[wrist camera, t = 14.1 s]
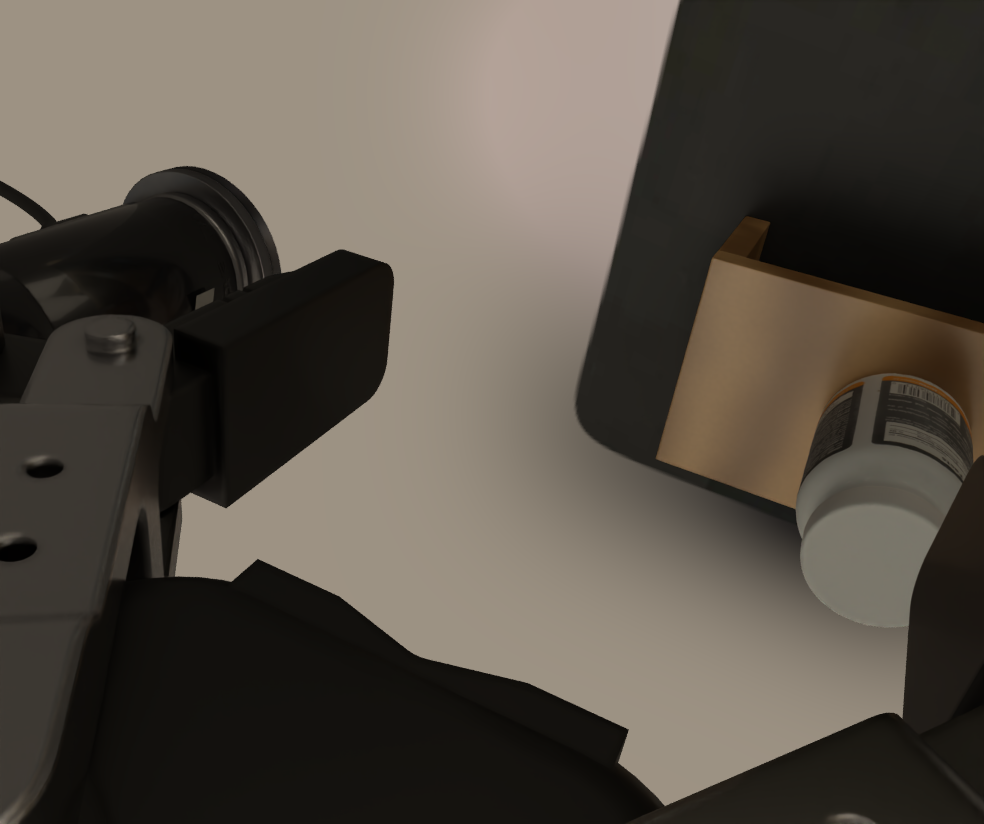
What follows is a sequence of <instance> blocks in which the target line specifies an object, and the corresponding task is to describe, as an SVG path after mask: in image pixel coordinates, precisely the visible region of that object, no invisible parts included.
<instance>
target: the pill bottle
mask: <svg viewBox="0 0 984 824" xmlns="http://www.w3.org/2000/svg"><path fill="white" fill-rule="evenodd" d="M973 463H974V462H973V445H972V435H971V430H970V426H969V423H968V420H967V418H966V416H965V414H964V412H963V410H962V409H961V407H960V406H959V404H958V403H957V402H956V401H955V400H954V398H953V397H951V396H950V395H949V394H948V393H947V392H945V391H944V390H942V389H941V388H940V387H938V386H937V385H935V384H933V383H931V382H929V381H926V380H924V379H921V378H918V377H915V376H910V375H902V374H896V373H887V374H878V375H872V376H868V377H865V378H862V379H859V380H857V381H855V382H853V383H851V384H848V385H847V386H846V387H844V388H843V389H841V390H840V391H839V392H837V393H836V394H835V395H834V396H833V397H832V399H831V400H830V401H829V402H828V404H827V405H826V407H825V408H824V410H823V412H822V414H821V416H820V419H819V422H818V424H817V428H816V430H815V434H814V437H813V441H812V444H811V448H810V452H809V455H808V459H807V462H806V466H805V469H804V473H803V477H802V480H801V484H800V488H799V491H798V494H797V500H796V519H797V525H798V529H799V532H800V535H801V537H802V544H801V551H800V560H801V568H802V572H803V575H804V578H805V580H806V582H807V584H808V586H809V587H810V589H811V590H812V592H813V593H814V594H815V595H816V596H817V598H818V599H819V600H820V601H821V602H822V603H823V604H825V605H826V606H827V607H828V608H830V609H831V610H832V611H834V612H835V613H837V614H839V615H841V616H843V617H845V618H847V619H849V620H852V621H854V622H857V623H861V624H864V625H868V626H874V627H903V626H909V615H910V603H911V597H912V593H913V589H914V585H915V582H916V579H917V576H918V573H919V571H920V568H921V565H922V563H923V561H924V559H925V557H926V554H927V552H928V550H929V548H930V546H931V545H932V543H933V541H934V539H935V537H936V535H937V533H938V531H939V529H940V527H941V525H942V523H943V521H944V519H945V517H946V515H947V513H948V511H949V509H950V507H951V505H952V503H953V501H954V499H955V497H956V495H957V493H958V491H959V489H960V487H961V485H962V483H963V481H964V479H965V477H966V475H967V474H968V472H969V470H970V468H971V466H972V465H973Z"/></svg>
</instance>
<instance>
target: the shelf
mask: <svg viewBox="0 0 984 824" xmlns="http://www.w3.org/2000/svg"><path fill="white" fill-rule="evenodd" d="M769 226H770V222H768V221H764V220H760V219H756V218H752V217H749V216H745V218H744V219H743V220H742V221H741V223H740V224H739V225H738V226H737V228H736V229H735V230H734V231H733V233H732V234H731V235H730V236H729V238H728V239H727V240H726V242H725V243H724V244H723V245H722V247H721V248H720V249H719V250H718V251H717V253H716V254H715V255H714V256H713V258H712V260H711V264H710V267H709V271H708V274H707V278H706V281H705V285H704V289H703V292H702V296H701V299H700V303H699V306H698V310H697V313H696V317H695V321H694V324H693V328H692V331H691V335H690V338H689V342H688V345H687V349H686V353H685V356H684V360H683V363H682V367H681V370H680V374H679V377H678V381H677V385H676V388H675V392H674V395H673V399H672V402H671V406H670V409H669V413H668V417H667V420H666V424H665V427H664V431H663V434H662V438H661V441H660V445H659V449H658V452H657V456H656V459H657V460H660V461H663V462H666V463H669V464H671V465H674V466H677V467H680V468H682V469H685V470H688V471H691V472H694V473H696V474H699V475H702V476H705V477H708V478H710V479H713V480H716V481H719V482H722V483H724V484H727V485H730V486H733V487H736V488H738V489H741V490H744V491H747V492H749V493H752V494H755V495H758V496H761V497H763V498H766V499H769V500H772V501H775V502H777V503H780V504H783V505H786V506H789V507H791V508H794V509H796V500H797V494H798V491H799V488H800V484H801V480H802V477H803V473H804V469H805V466H806V462H807V459H808V455H809V452H810V448H811V444H812V441H813V437H814V434H815V430H816V428H817V424H818V422H819V419H820V416H821V414H822V412H823V410H824V408H825V407H826V405H827V404H828V402H829V401H830V400H831V399H832V397H833V396H834V395H835V394H836V393H837V392H839V391H840V390H841V389H843V388H844V387H846V386H847V385H848V384H851V383H853V382H855V381H857V380H859V379H862V378H865V377H868V376H872V375H878V374H887V373H896V374H902V375H910V376H915V377H918V378H921V379H924V380H926V381H929V382H931V383H933V384H935V385H937V386H938V387H940V388H941V389H942V390H944V391H945V392H947V393H948V394H949V395H950V396H951V397H953V398H954V400H955V401H956V402H957V403H958V404H959V406H960V407H961V409H962V410H963V412H964V414H965V416H966V418H967V420H968V423H969V426H970V430H971V435H972V445H973V462H975V461H976V459H977V458H978V457H980V456H981V455H983V456H984V323H980V322H977V321H973V320H970V319H966V318H962V317H959V316H955V315H952V314H948V313H944V312H941V311H937V310H934V309H930V308H926V307H923V306H919V305H916V304H912V303H908V302H905V301H901V300H898V299H894V298H890V297H887V296H883V295H880V294H876V293H872V292H869V291H865V290H861V289H858V288H854V287H851V286H847V285H843V284H840V283H836V282H833V281H829V280H825V279H822V278H818V277H815V276H811V275H807V274H804V273H800V272H797V271H793V270H789V269H786V268H782V267H779V266H775V265H771V264H768V263H764V262H760V261H759V258H760V255H761V252H762V249H763V245H764V242H765V239H766V236H767V232H768V229H769Z"/></svg>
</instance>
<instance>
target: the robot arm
mask: <svg viewBox="0 0 984 824" xmlns="http://www.w3.org/2000/svg"><path fill="white" fill-rule="evenodd" d="M0 196H2V197H4V198H6V199H7V200H9V201H11V202H12V203H14V204H15V205H17V206H18V207H20V208H21V209H23V210H24V211H25V212H27V213H28V214H29V215H31V216H32V217H33V218H34V219H36V220H37V221H38V222H39V223H40V224H41V225H42V227H41V229H40V230H37V231H34V232H31V233H27V234H24V235H21V236H18V237H14V238H12V239H10V241H7V242H4V243H1V244H0V824H984V456H983V455H981V456H980V457H978V458H977V459H976V461H975V462H974V463H973V465H972V466H971V468H970V470H969V472H968V474H967V475H966V477H965V479H964V481H963V483H962V485H961V487H960V489H959V491H958V493H957V495H956V497H955V499H954V501H953V503H952V505H951V507H950V509H949V511H948V513H947V515H946V517H945V519H944V521H943V523H942V525H941V527H940V529H939V531H938V533H937V535H936V537H935V539H934V541H933V543H932V545H931V546H930V548H929V550H928V552H927V554H926V557H925V559H924V561H923V563H922V565H921V568H920V571H919V573H918V576H917V579H916V582H915V585H914V589H913V593H912V597H911V603H910V615H909V631H908V645H907V661H906V676H905V690H904V705H903V706H904V707H903V719H902V718H901V717H900V716H899V715H897V714H895V713H883V714H879V715H876V716H874V717H871V718H868V719H866V720H864V721H861V722H859V723H857V724H854V725H852V726H850V727H848V728H845V729H843V730H841V731H838V732H836V733H834V734H832V735H829V736H827V737H825V738H822V739H820V740H817V741H815V742H813V743H810V744H808V745H806V746H803V747H801V748H799V749H796V750H794V751H792V752H789V753H787V754H785V755H783V756H780V757H778V758H776V759H774V760H771V761H769V762H766V763H764V764H762V765H759V766H757V767H755V768H752V769H750V770H748V771H745V772H743V773H741V774H738V775H736V776H734V777H731V778H729V779H727V780H725V781H722V782H720V783H718V784H715V785H713V786H711V787H708V788H706V789H704V790H701V791H699V792H697V793H694V794H692V795H690V796H687V797H685V798H683V799H681V800H678V801H676V802H674V803H671V804H669V805H667V806H664V805H663V804H662V802H661V801H660V800H659V799H658V798H657V797H656V796H655V795H654V794H653V793H652V792H651V791H650V790H649V789H648V788H647V787H646V786H645V785H644V784H643V783H642V782H640V780H638V779H637V778H636V777H635V776H634V775H633V774H631V773H630V772H629V771H628V770H626V769H625V768H624V767H622V766H621V765H620V764H619V763H618V761H619V758H620V755H621V752H622V749H623V746H624V743H625V739H626V737H627V734H628V729H626V728H624V727H622V726H620V725H618V724H615V723H613V722H611V721H609V720H606V719H604V718H602V717H600V716H598V715H596V714H594V713H591V712H589V711H587V710H585V709H583V708H581V707H578V706H576V705H574V704H572V703H570V702H568V701H565V700H563V699H561V698H559V697H557V696H555V695H552V694H550V693H548V692H546V691H544V690H542V689H539V688H537V687H535V686H533V685H531V684H528V683H525V682H521V681H516V680H513V679H508V678H504V677H500V676H495V675H491V674H487V673H483V672H479V671H474V670H470V669H466V668H462V667H457V666H453V665H449V664H445V663H441V662H437V661H432V660H428V659H425V658H421V657H419V656H417V655H414V654H413V653H411V652H410V651H408V650H407V649H406V648H404V647H403V646H402V645H400V644H399V643H398V642H396V641H395V640H394V639H393V638H392V637H390V636H389V635H388V634H386V633H385V632H384V631H383V630H381V629H380V628H379V627H377V626H376V625H375V624H374V623H372V622H371V621H370V620H369V619H367V618H366V617H365V616H363V615H362V614H361V613H360V612H358V611H357V610H356V609H355V608H353V607H352V606H351V605H349V604H348V603H347V602H345V601H344V600H343V599H342V598H341V597H339V596H337V595H335V594H332V593H331V592H328V591H326V590H324V589H322V588H320V587H317V586H315V585H313V584H311V583H309V582H306V581H304V580H302V579H300V578H298V577H296V576H293V575H291V574H289V573H287V572H285V571H283V570H280V569H278V568H276V567H274V566H272V565H270V564H267V563H265V562H263V561H261V560H259V559H257V560H256V561H255V562H254V563H253V564H252V565H250V567H248V568H247V569H246V570H245V571H243V573H241V574H240V575H239V576H238V577H237V578H235V579H234V580H233V581H232V582H229V581H224V580H218V579H209V578H202V577H175V570H176V563H177V554H178V547H179V539H180V532H181V524H182V508H181V499H182V498H183V497H185V496H186V495H188V494H189V493H193V494H195V495H197V496H200V497H202V498H204V499H206V500H209V501H211V502H213V503H216V504H218V505H220V506H222V507H224V508H227V507H228V506H230V505H231V504H233V503H234V502H235V501H236V500H238V499H239V498H240V497H242V496H243V495H244V494H246V493H247V492H248V491H250V490H251V489H252V488H254V487H255V486H256V485H258V484H259V483H260V482H261V481H263V480H264V479H265V478H267V477H268V476H269V475H271V474H272V473H273V472H275V471H276V470H277V469H279V468H280V467H281V466H283V465H284V464H285V463H287V462H288V461H289V460H290V459H292V458H293V457H294V456H296V455H297V454H298V453H300V452H301V451H302V450H304V449H305V448H306V447H308V446H309V445H310V444H312V443H313V442H314V441H315V440H317V439H318V438H319V437H321V436H322V435H323V434H325V433H326V432H327V431H329V430H330V429H331V428H332V427H334V426H335V425H337V424H338V423H339V422H340V421H342V420H343V419H344V418H346V417H347V416H348V415H349V414H351V413H352V412H353V411H355V410H356V409H357V408H359V407H360V406H361V405H363V404H364V403H366V402H367V401H368V400H369V399H370V398H371V397H372V396H373V395H374V394H375V392H376V391H377V389H378V387H379V385H380V383H381V381H382V379H383V376H384V373H385V369H386V365H387V357H388V346H389V334H390V323H391V311H392V300H393V288H394V277H393V272H392V269H391V267H390V266H389V265H388V264H387V263H384V262H381V261H377V260H374V259H371V258H368V257H365V256H361V255H358V254H355V253H352V252H349V251H346V250H337V251H335V252H333V253H331V254H329V255H326V256H324V257H322V258H320V259H318V260H316V261H314V262H312V263H310V264H308V265H306V266H303V267H301V268H299V269H297V270H295V271H292V272H286V273H281V274H275V275H270V276H267V277H265V278H262V279H260V280H258V281H256V282H254V283H252V284H250V285H248V278H247V271H246V266H245V262H244V259H243V256H242V253H241V250H240V248H239V246H238V244H237V242H236V240H235V238H234V236H233V235H232V233H231V231H230V230H229V228H228V227H227V226H226V224H225V223H224V222H223V221H222V219H221V218H220V217H219V216H218V215H217V214H216V213H215V212H214V211H213V210H212V209H210V208H209V207H208V206H207V205H205V204H204V203H202V202H201V201H199V200H197V199H195V198H193V197H191V196H188V195H186V194H182V193H176V192H166V193H161V194H158V195H154V196H151V197H148V198H146V199H143V200H142V201H140V202H138V203H137V202H131V203H127V204H124V205H121V206H117V207H114V208H111V209H108V210H104V211H101V212H97V213H94V214H91V215H87V214H82V215H78V216H75V217H71V218H68V219H64V220H61V221H58V222H56V220H55V219H54V218H53V217H52V216H51V215H50V214H49V213H48V212H47V211H46V210H45V209H43V208H42V207H41V206H40V205H38V204H37V203H36V202H34V201H33V200H31V199H30V198H28V197H27V196H25V195H24V194H22V193H20V192H19V191H17V190H16V189H14V188H12V187H11V186H9V185H7V184H5V183H3V182H1V181H0Z"/></svg>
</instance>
